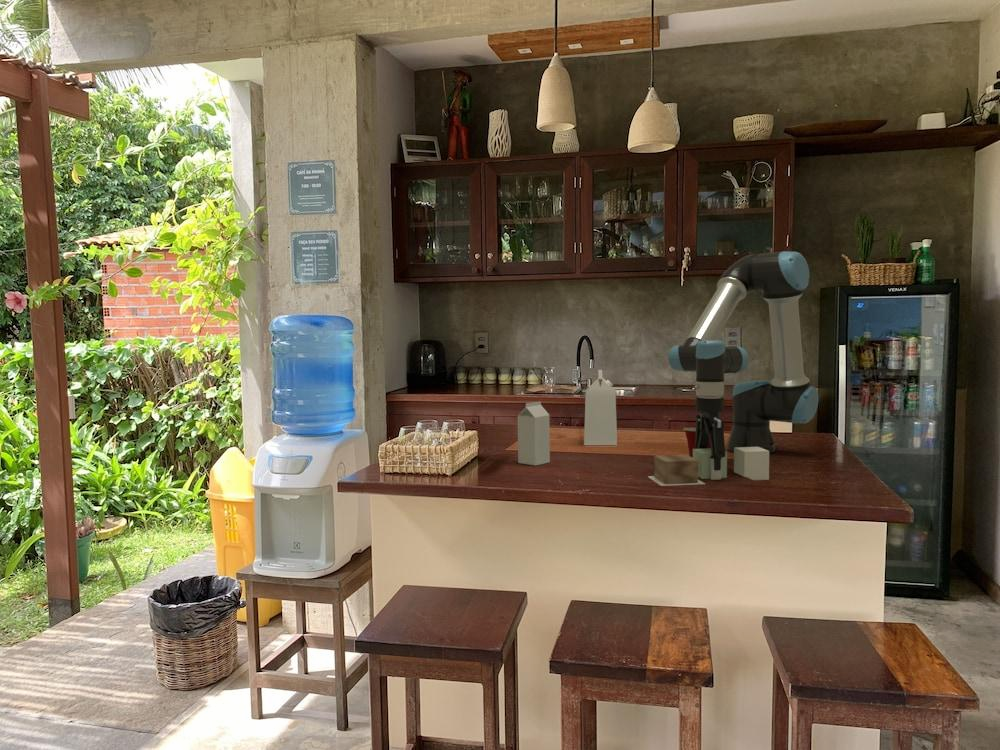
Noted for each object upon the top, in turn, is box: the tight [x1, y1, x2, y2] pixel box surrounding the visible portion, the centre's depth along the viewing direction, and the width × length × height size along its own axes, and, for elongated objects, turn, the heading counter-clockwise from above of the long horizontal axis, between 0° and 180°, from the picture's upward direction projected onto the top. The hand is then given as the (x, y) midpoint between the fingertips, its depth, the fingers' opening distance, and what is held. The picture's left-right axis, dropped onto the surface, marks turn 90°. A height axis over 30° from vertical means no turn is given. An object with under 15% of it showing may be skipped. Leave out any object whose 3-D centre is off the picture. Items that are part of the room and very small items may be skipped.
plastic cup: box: [683, 427, 711, 458], centre depth 227 cm, size 11×11×12 cm
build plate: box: [647, 475, 706, 487], centre depth 206 cm, size 12×12×1 cm
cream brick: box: [733, 447, 770, 481], centre depth 213 cm, size 7×7×8 cm
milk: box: [583, 369, 618, 446], centre depth 272 cm, size 12×12×26 cm
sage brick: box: [693, 448, 728, 480], centre depth 211 cm, size 7×7×8 cm
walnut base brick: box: [653, 454, 699, 484], centre depth 206 cm, size 9×9×6 cm
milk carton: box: [517, 401, 551, 466], centre depth 238 cm, size 7×7×19 cm
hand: (709, 478), depth 211 cm, fingers open, 9 cm apart
